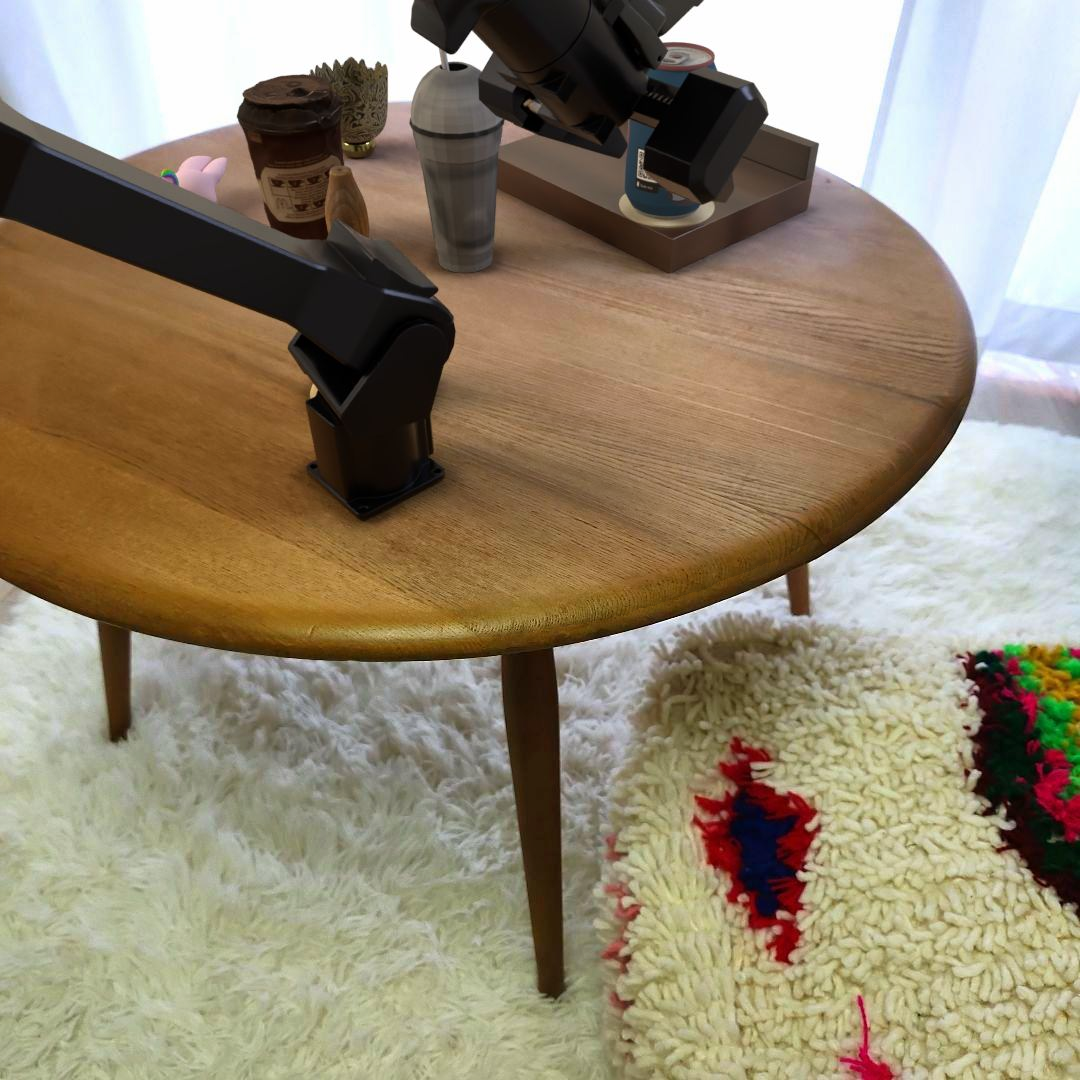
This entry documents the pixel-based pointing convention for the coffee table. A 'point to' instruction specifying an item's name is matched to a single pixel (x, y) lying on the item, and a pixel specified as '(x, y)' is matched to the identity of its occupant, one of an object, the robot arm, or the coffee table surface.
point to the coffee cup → (293, 149)
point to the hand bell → (344, 207)
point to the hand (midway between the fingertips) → (673, 172)
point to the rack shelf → (605, 212)
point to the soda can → (637, 181)
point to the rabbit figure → (198, 175)
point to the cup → (359, 102)
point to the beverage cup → (458, 163)
